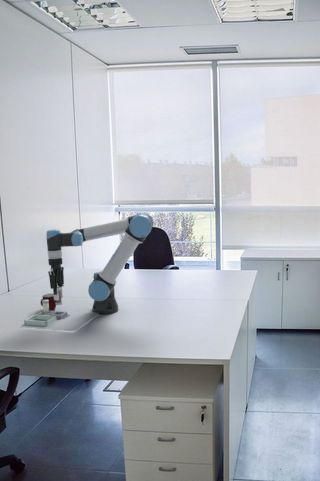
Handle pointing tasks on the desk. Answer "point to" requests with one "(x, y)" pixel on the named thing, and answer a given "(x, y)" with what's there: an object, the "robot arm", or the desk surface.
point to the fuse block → (56, 314)
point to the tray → (32, 321)
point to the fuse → (45, 306)
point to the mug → (50, 301)
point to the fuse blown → (59, 302)
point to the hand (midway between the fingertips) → (58, 298)
